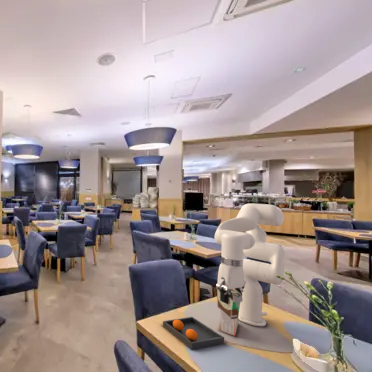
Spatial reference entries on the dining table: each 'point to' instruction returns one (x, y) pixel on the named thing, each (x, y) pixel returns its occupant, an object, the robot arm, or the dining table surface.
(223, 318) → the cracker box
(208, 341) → the fruit tray
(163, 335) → the dining table surface
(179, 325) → the clementine
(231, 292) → the food container
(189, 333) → the clementine
